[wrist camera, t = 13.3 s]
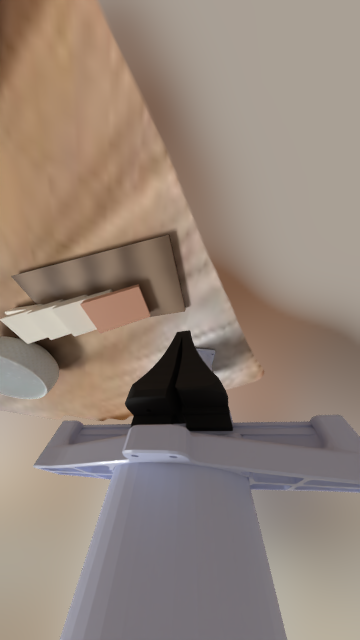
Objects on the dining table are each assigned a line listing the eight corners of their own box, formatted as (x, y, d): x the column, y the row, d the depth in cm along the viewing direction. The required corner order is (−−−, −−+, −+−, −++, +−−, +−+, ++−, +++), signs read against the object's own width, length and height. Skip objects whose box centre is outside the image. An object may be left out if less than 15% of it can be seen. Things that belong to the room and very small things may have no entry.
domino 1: (31, 308, 21) (4, 312, 23) (53, 332, 24) (26, 333, 26) (42, 303, 22) (14, 307, 25) (61, 326, 25) (35, 328, 27)
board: (169, 234, 17) (168, 234, 16) (185, 308, 23) (185, 311, 22) (18, 274, 21) (11, 276, 20) (64, 328, 27) (60, 331, 26)
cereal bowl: (60, 380, 38) (37, 407, 32) (-8, 351, 33) (-52, 377, 27) (80, 353, 31) (55, 381, 25) (-3, 310, 25) (-62, 332, 19)
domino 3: (83, 297, 20) (25, 314, 19) (100, 323, 22) (50, 340, 21) (86, 294, 21) (32, 309, 20) (102, 319, 24) (55, 334, 23)
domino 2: (58, 302, 21) (-1, 319, 19) (77, 327, 23) (27, 344, 22) (62, 299, 22) (8, 314, 20) (80, 323, 24) (33, 338, 23)
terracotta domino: (138, 286, 18) (79, 304, 17) (150, 316, 21) (100, 333, 20) (138, 284, 20) (83, 300, 19) (149, 312, 22) (102, 328, 21)
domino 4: (109, 292, 19) (51, 309, 18) (124, 320, 22) (74, 336, 20) (111, 289, 20) (57, 305, 19) (125, 315, 23) (78, 331, 22)
